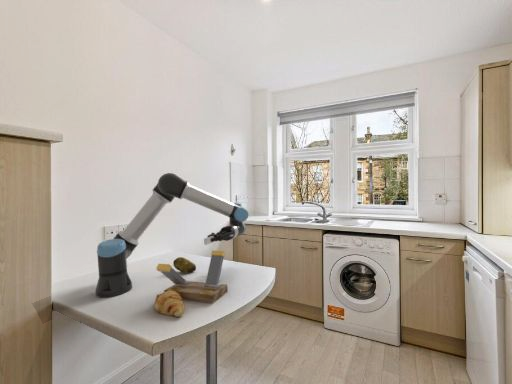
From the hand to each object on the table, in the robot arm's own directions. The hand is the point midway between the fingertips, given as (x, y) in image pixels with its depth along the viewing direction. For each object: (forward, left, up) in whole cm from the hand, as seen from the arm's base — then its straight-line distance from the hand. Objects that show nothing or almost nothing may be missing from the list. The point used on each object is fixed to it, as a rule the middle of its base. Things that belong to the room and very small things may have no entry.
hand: (205, 241), depth 122 cm
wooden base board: (-9, -3, -21) cm, 23 cm away
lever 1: (-12, +4, -16) cm, 20 cm away
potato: (+6, +30, -21) cm, 37 cm away
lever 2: (-6, -11, -16) cm, 20 cm away
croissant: (-24, -6, -21) cm, 32 cm away
